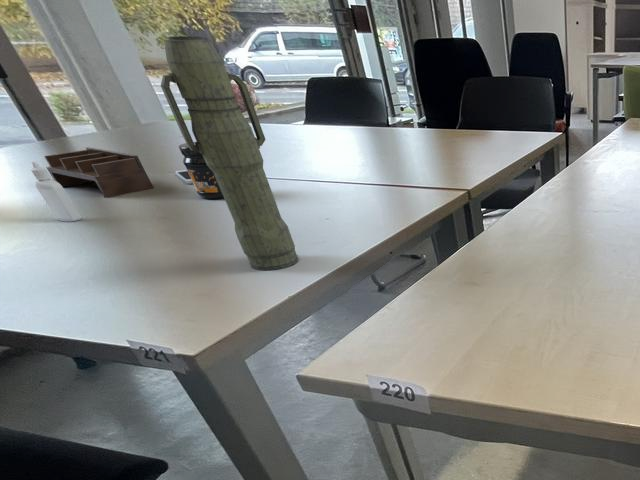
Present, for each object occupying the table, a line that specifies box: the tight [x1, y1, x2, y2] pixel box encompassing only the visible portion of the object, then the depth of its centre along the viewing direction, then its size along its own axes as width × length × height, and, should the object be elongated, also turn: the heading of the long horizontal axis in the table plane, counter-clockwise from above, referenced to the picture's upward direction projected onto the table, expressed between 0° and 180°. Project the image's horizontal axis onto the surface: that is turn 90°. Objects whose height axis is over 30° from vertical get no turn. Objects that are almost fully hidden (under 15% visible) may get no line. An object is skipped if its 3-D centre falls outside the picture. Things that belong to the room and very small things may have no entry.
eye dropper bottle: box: [30, 161, 82, 223], centre depth 115 cm, size 4×6×12 cm
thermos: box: [160, 35, 300, 271], centre depth 90 cm, size 9×12×35 cm
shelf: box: [44, 146, 154, 198], centre depth 138 cm, size 12×22×8 cm, turn 65°
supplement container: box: [178, 141, 224, 200], centre depth 134 cm, size 10×10×12 cm
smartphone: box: [174, 169, 193, 185], centre depth 151 cm, size 7×16×1 cm, turn 43°
